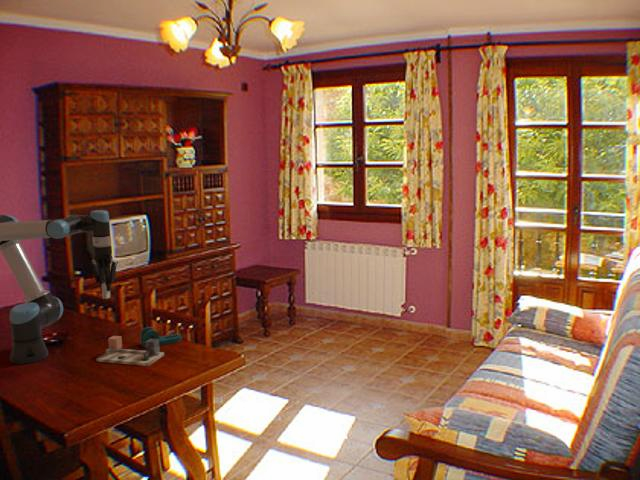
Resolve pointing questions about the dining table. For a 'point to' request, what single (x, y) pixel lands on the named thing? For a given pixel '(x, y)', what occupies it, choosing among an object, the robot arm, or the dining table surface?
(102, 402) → the dining table surface
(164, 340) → the teal curved handle
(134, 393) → the dining table surface
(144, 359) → the gauge board
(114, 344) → the block
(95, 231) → the robot arm
